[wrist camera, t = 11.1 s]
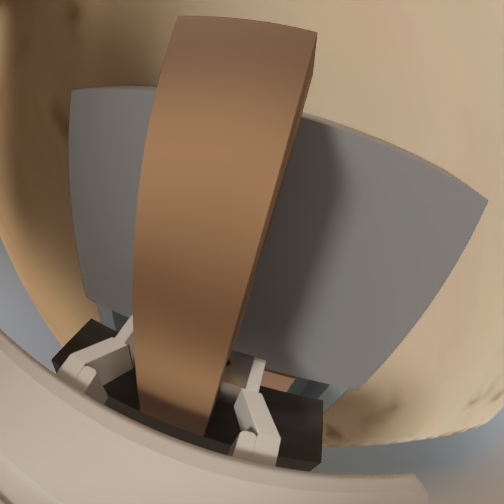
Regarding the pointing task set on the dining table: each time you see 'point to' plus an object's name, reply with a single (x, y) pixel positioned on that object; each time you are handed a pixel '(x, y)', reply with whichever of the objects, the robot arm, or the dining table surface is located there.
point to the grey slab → (290, 237)
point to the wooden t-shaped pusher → (210, 230)
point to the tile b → (277, 380)
